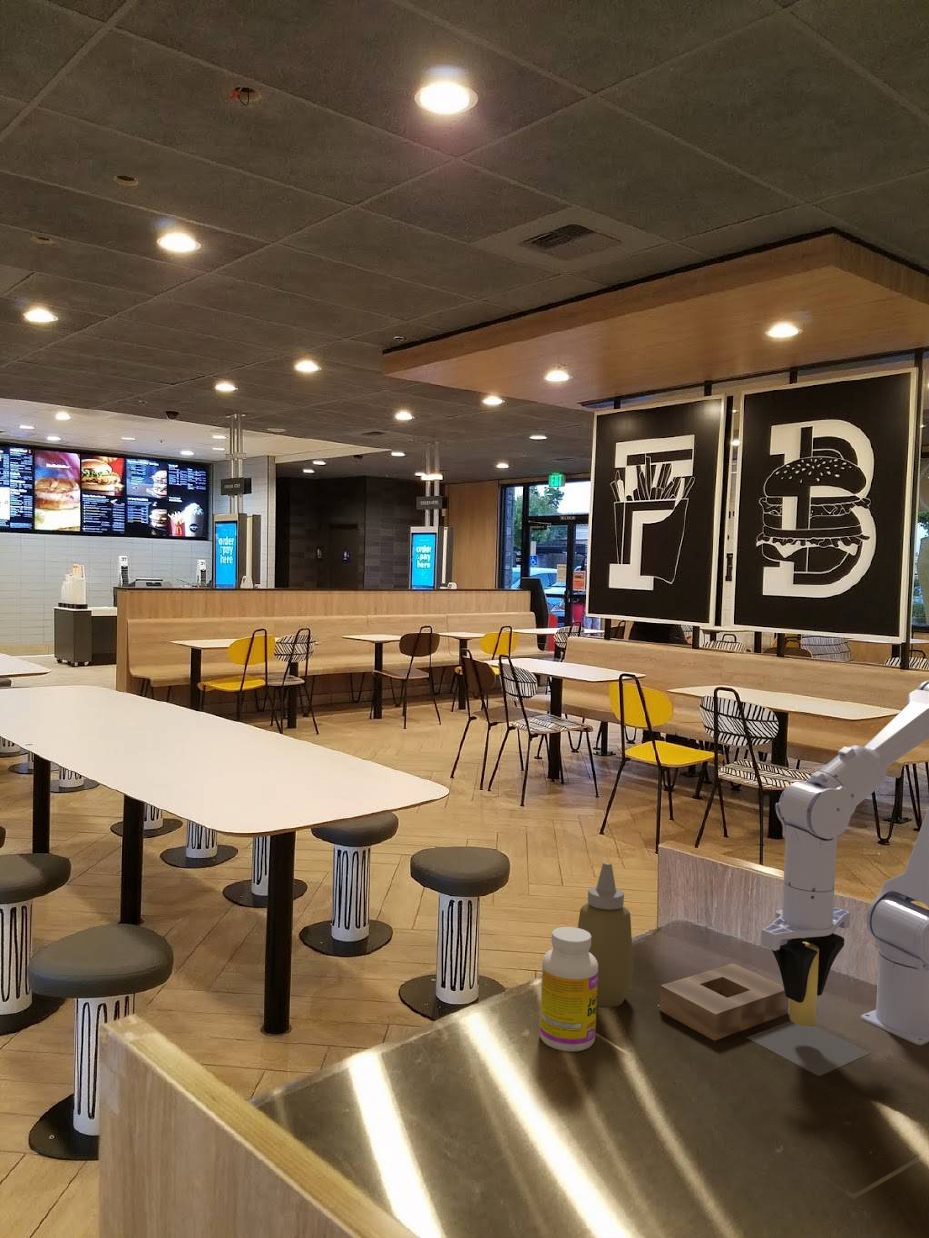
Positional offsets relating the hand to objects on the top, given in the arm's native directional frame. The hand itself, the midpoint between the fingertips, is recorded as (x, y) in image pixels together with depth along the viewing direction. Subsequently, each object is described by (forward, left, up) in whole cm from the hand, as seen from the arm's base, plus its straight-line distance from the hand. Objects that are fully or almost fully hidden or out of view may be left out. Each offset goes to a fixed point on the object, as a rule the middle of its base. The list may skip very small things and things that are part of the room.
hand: (803, 995), depth 110 cm
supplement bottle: (+24, -15, -6) cm, 29 cm away
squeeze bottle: (+13, -21, -6) cm, 25 cm away
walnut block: (+2, -10, -6) cm, 12 cm away
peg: (0, 0, -3) cm, 3 cm away
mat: (0, +1, -6) cm, 6 cm away
